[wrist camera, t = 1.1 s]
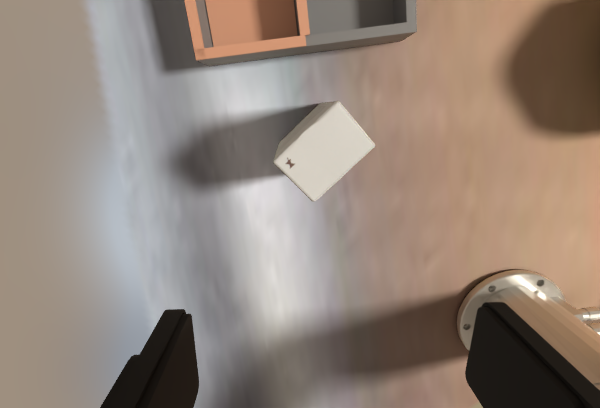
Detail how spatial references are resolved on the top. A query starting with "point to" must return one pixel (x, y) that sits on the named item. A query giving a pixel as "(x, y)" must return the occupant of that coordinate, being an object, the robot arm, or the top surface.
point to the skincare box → (322, 149)
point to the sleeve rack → (293, 27)
